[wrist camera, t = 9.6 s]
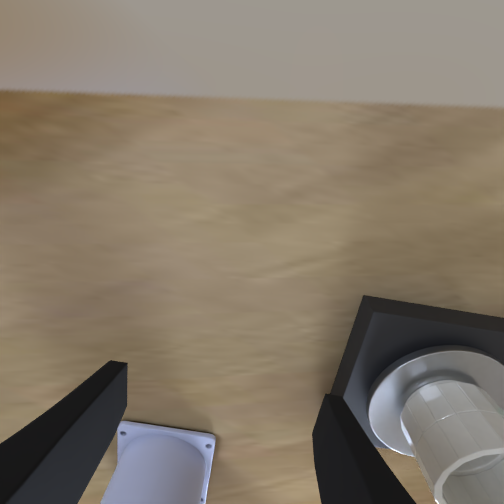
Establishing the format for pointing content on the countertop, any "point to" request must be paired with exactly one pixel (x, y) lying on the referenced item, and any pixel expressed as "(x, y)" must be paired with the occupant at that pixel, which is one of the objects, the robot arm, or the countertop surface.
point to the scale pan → (422, 373)
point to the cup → (457, 441)
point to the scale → (404, 344)
